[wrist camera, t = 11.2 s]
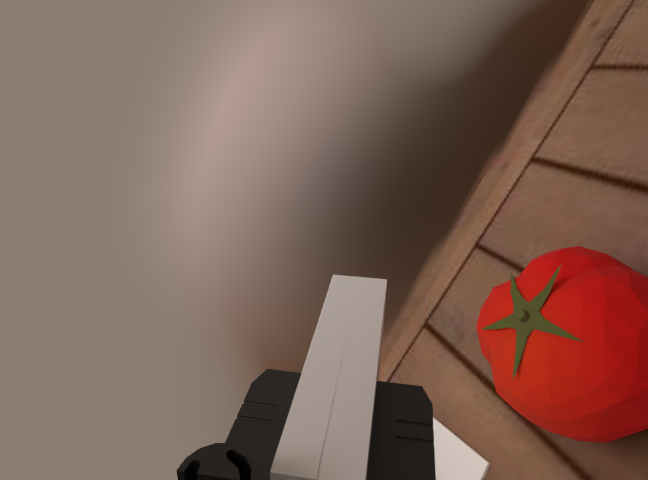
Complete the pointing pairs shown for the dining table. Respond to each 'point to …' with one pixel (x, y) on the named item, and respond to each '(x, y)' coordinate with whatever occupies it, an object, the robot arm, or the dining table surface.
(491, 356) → the tomato
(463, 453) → the flat white rectangular board
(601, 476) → the dining table surface
